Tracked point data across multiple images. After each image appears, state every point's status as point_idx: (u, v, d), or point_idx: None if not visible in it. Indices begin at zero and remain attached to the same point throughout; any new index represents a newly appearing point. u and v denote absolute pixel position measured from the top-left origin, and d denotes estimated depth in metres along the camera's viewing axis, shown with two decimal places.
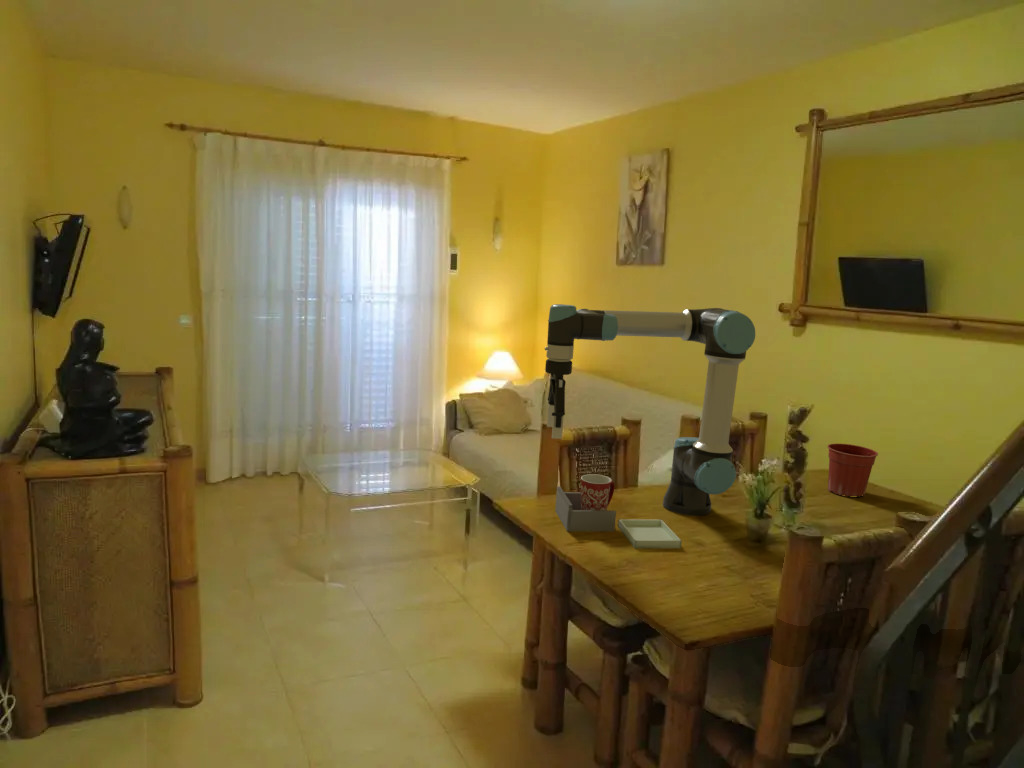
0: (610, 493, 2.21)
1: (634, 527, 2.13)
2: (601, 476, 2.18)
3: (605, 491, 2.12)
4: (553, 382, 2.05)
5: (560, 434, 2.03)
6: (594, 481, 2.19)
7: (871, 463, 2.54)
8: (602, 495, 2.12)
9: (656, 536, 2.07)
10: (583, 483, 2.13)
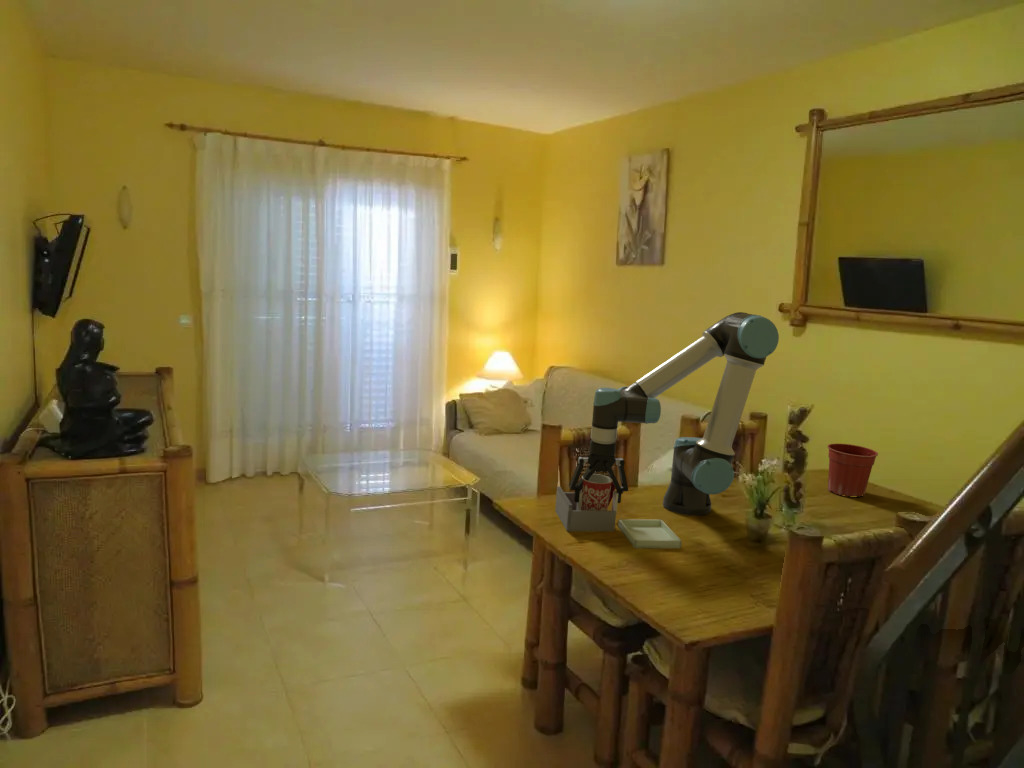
0: (610, 493, 2.21)
1: (634, 527, 2.13)
2: (602, 476, 2.18)
3: (606, 491, 2.12)
4: None
5: (578, 509, 2.16)
6: (595, 481, 2.19)
7: (871, 463, 2.54)
8: (603, 495, 2.12)
9: (656, 536, 2.07)
10: (584, 482, 2.13)
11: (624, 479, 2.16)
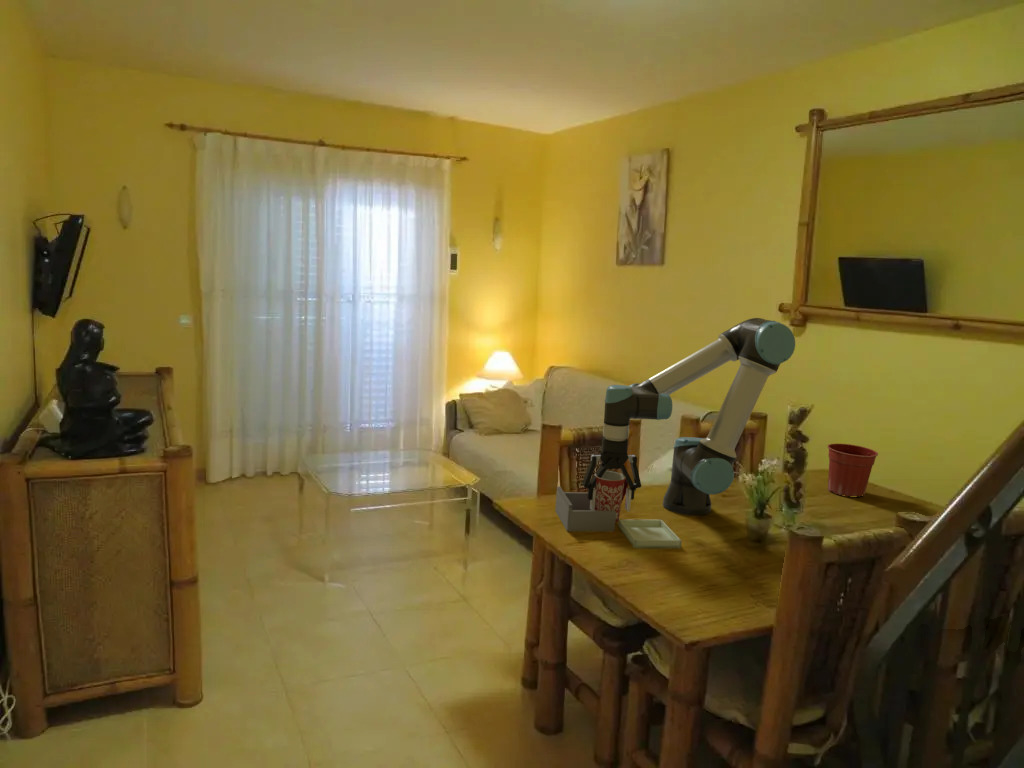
0: (623, 490, 2.21)
1: (634, 527, 2.13)
2: (615, 473, 2.19)
3: (619, 488, 2.13)
4: None
5: (591, 506, 2.16)
6: (608, 478, 2.19)
7: (871, 463, 2.54)
8: (616, 492, 2.12)
9: (656, 536, 2.07)
10: (597, 480, 2.14)
11: (637, 476, 2.16)
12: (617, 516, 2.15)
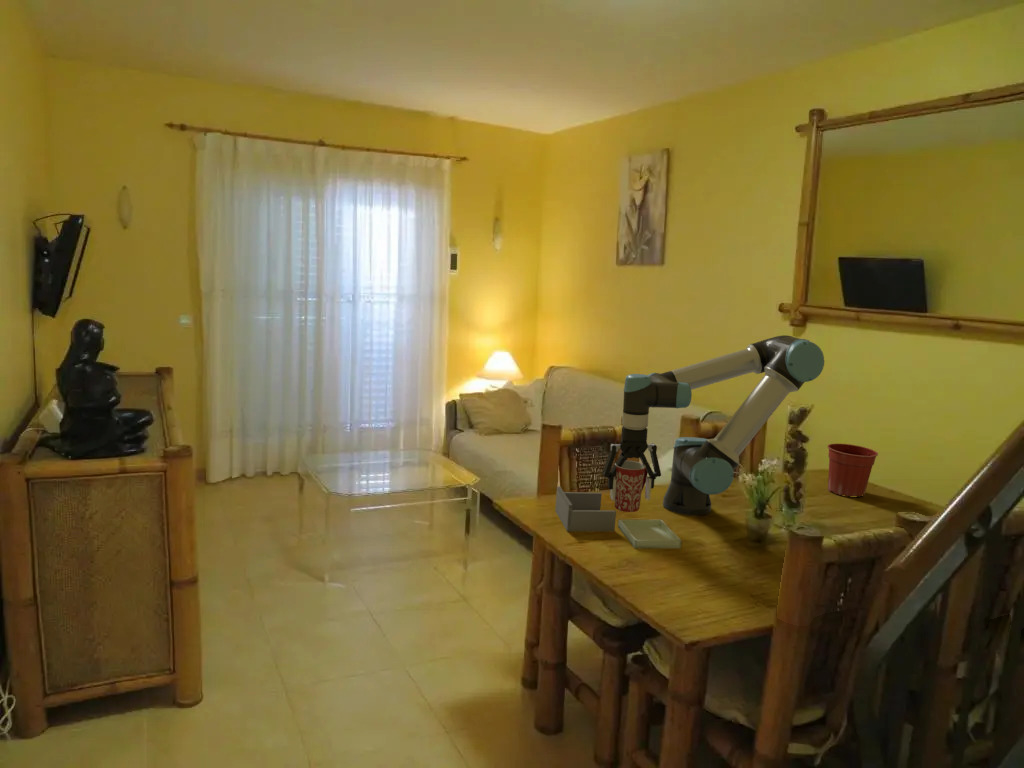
0: (643, 479, 2.21)
1: (634, 527, 2.13)
2: (634, 462, 2.19)
3: (640, 477, 2.13)
4: None
5: (612, 496, 2.17)
6: (627, 467, 2.20)
7: (871, 463, 2.54)
8: (637, 481, 2.13)
9: (656, 536, 2.07)
10: (618, 469, 2.14)
11: (657, 464, 2.17)
12: (638, 505, 2.15)
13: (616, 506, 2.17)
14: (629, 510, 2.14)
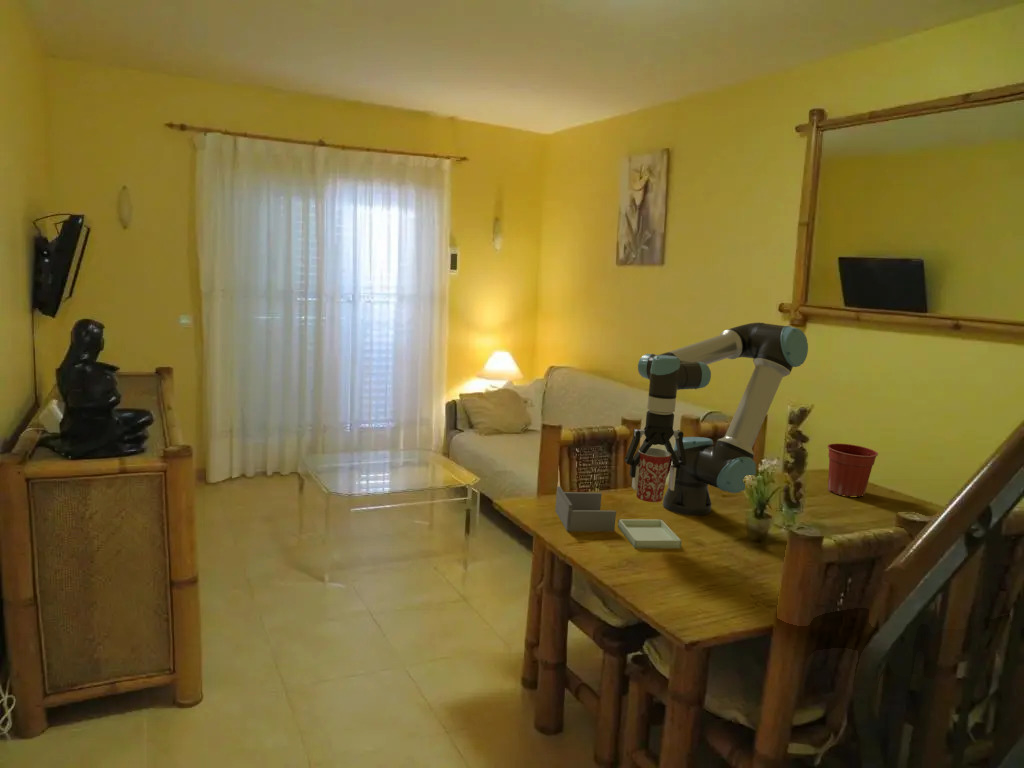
0: None
1: (634, 527, 2.13)
2: (658, 450, 2.06)
3: (665, 465, 2.00)
4: None
5: (634, 485, 2.03)
6: (651, 455, 2.06)
7: (871, 463, 2.54)
8: (662, 469, 2.00)
9: (656, 536, 2.07)
10: (641, 456, 2.01)
11: (682, 452, 2.03)
12: (661, 495, 2.02)
13: (638, 495, 2.03)
14: (652, 500, 2.01)
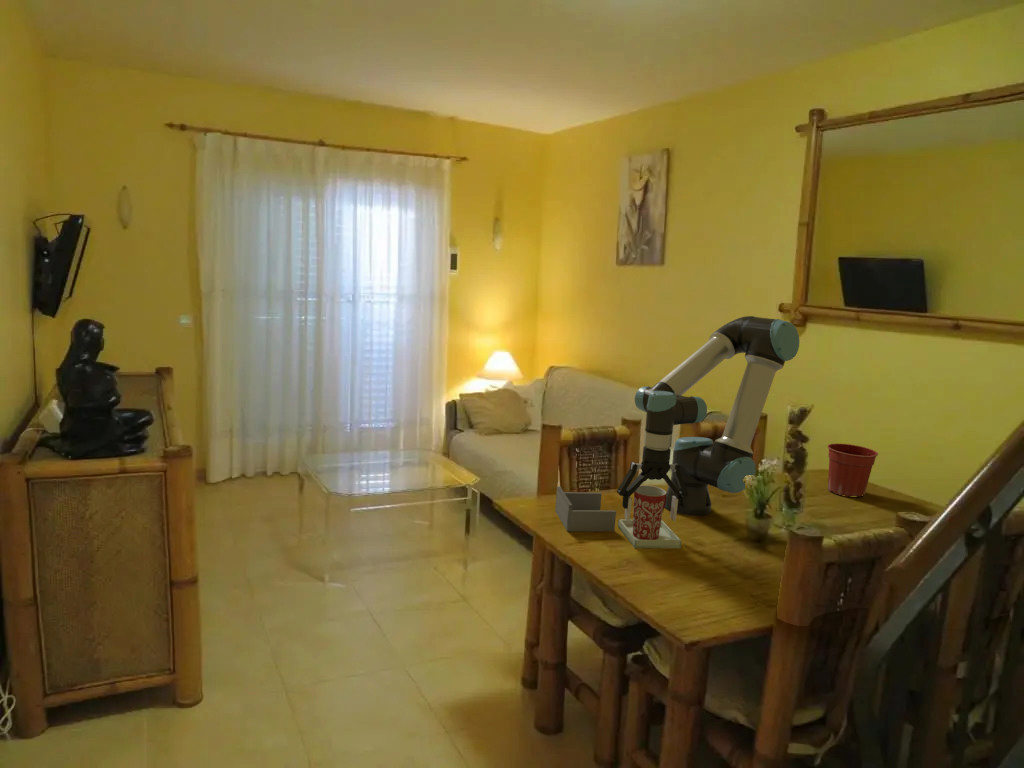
0: None
1: None
2: (653, 487, 2.08)
3: (660, 504, 2.02)
4: None
5: (627, 516, 2.05)
6: (646, 493, 2.09)
7: (871, 463, 2.54)
8: (657, 508, 2.02)
9: None
10: (637, 495, 2.03)
11: (682, 484, 2.05)
12: (657, 533, 2.05)
13: (635, 534, 2.06)
14: (649, 538, 2.04)
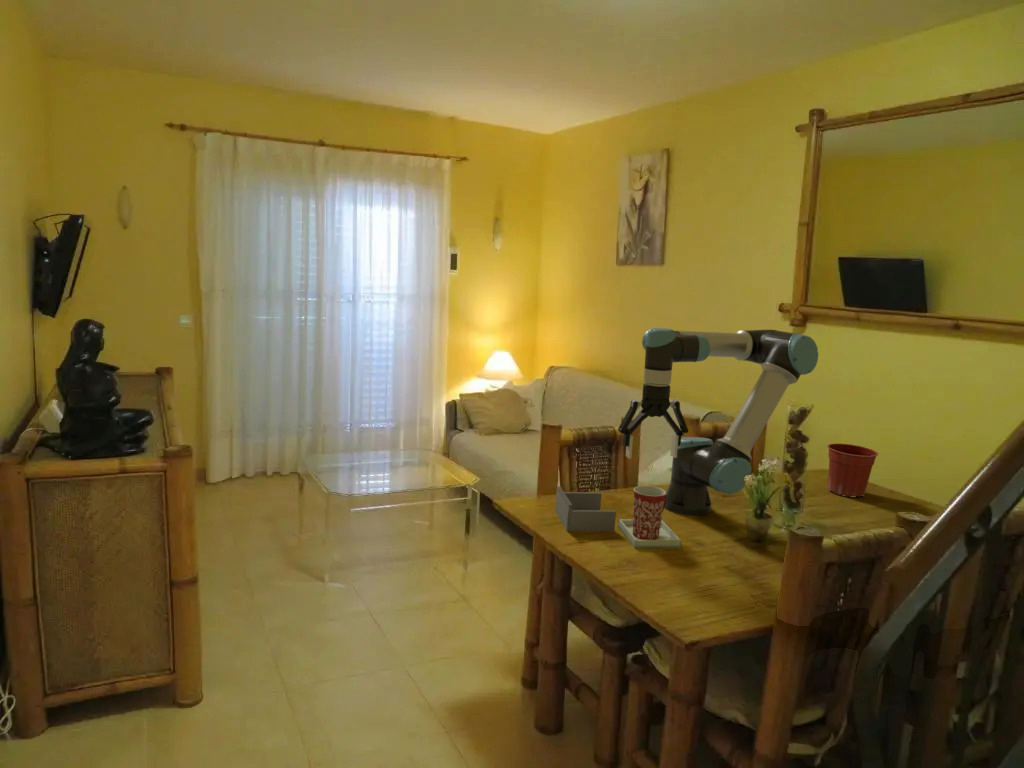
0: None
1: None
2: (653, 487, 2.08)
3: (660, 504, 2.02)
4: None
5: (628, 454, 2.05)
6: (646, 493, 2.09)
7: (871, 463, 2.54)
8: (657, 508, 2.02)
9: None
10: (637, 495, 2.03)
11: (682, 421, 2.06)
12: (657, 533, 2.05)
13: (635, 534, 2.06)
14: (649, 538, 2.04)
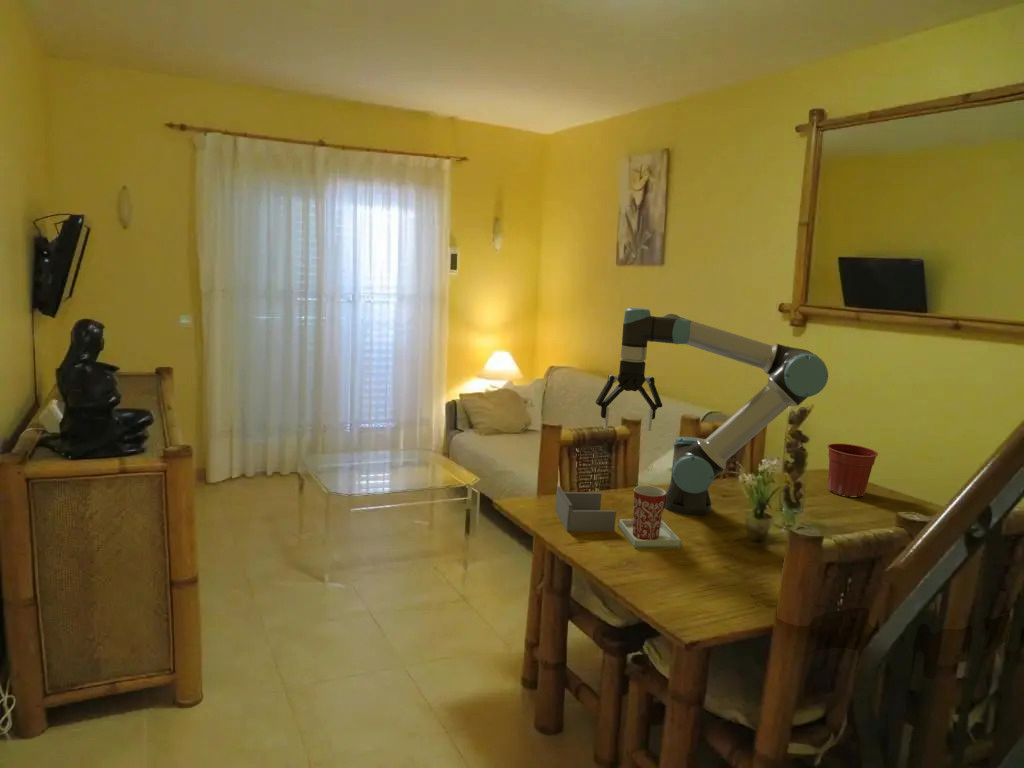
0: None
1: None
2: (653, 487, 2.08)
3: (660, 504, 2.02)
4: None
5: (605, 425, 2.20)
6: (646, 493, 2.09)
7: (871, 463, 2.54)
8: (657, 508, 2.02)
9: None
10: (637, 495, 2.03)
11: (657, 396, 2.20)
12: (657, 533, 2.05)
13: (635, 534, 2.06)
14: (649, 538, 2.04)
